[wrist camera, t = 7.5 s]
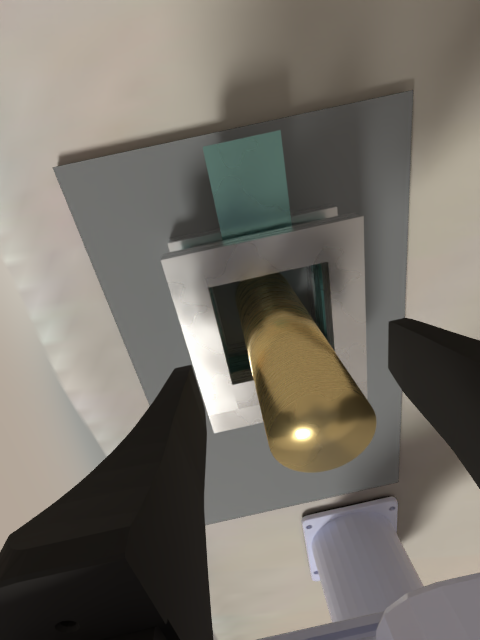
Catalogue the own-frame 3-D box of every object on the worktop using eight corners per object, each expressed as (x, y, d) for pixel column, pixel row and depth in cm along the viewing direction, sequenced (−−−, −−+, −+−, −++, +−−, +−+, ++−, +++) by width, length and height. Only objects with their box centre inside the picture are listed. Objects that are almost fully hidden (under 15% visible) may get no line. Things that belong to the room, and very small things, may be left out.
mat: (395, 476, 26) (398, 482, 26) (199, 520, 26) (199, 526, 26) (406, 91, 15) (413, 90, 14) (56, 167, 15) (52, 167, 14)
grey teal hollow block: (339, 359, 20) (367, 399, 17) (212, 387, 20) (214, 433, 17) (324, 122, 15) (361, 111, 11) (146, 160, 15) (129, 160, 11)
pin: (293, 314, 19) (376, 460, 10) (240, 325, 19) (276, 481, 10) (286, 263, 17) (376, 378, 8) (230, 275, 17) (259, 404, 8)
